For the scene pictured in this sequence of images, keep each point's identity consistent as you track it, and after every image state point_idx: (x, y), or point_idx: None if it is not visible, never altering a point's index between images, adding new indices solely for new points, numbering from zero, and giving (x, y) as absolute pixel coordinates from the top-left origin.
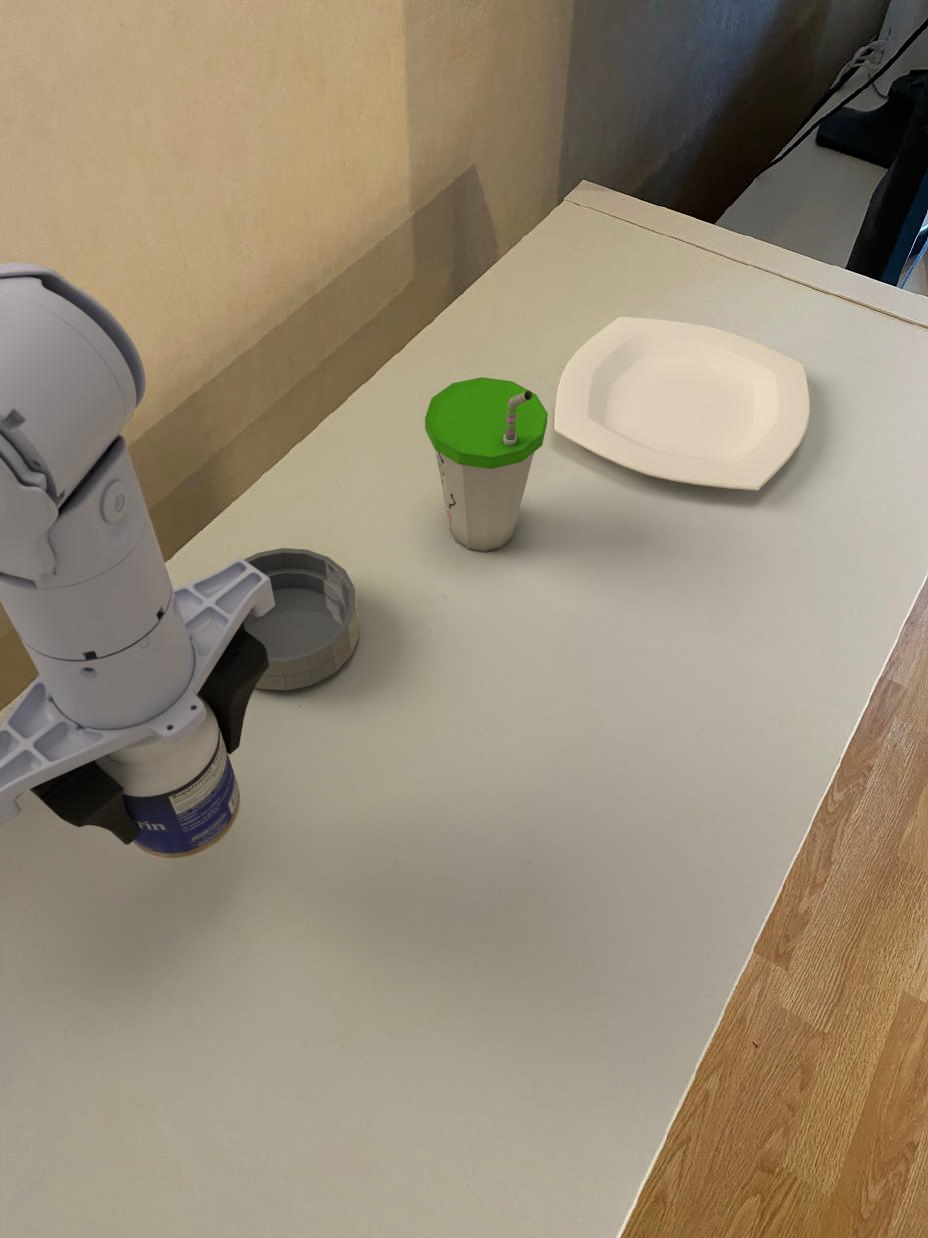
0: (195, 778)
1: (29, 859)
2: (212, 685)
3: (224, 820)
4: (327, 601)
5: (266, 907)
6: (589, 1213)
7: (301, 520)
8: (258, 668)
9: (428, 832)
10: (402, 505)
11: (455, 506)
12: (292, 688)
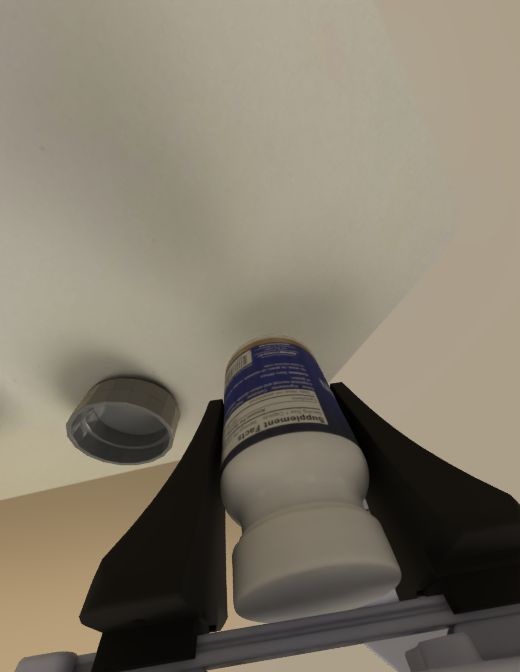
0: (294, 430)
1: None
2: (206, 540)
3: (260, 350)
4: (99, 415)
5: (248, 279)
6: None
7: None
8: (112, 603)
9: (117, 242)
10: (18, 440)
11: None
12: (150, 383)
